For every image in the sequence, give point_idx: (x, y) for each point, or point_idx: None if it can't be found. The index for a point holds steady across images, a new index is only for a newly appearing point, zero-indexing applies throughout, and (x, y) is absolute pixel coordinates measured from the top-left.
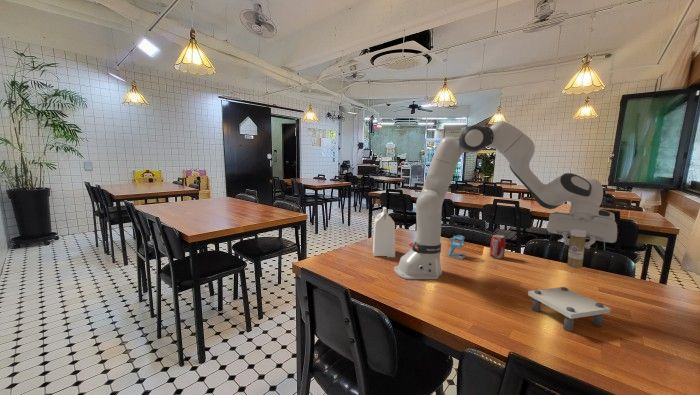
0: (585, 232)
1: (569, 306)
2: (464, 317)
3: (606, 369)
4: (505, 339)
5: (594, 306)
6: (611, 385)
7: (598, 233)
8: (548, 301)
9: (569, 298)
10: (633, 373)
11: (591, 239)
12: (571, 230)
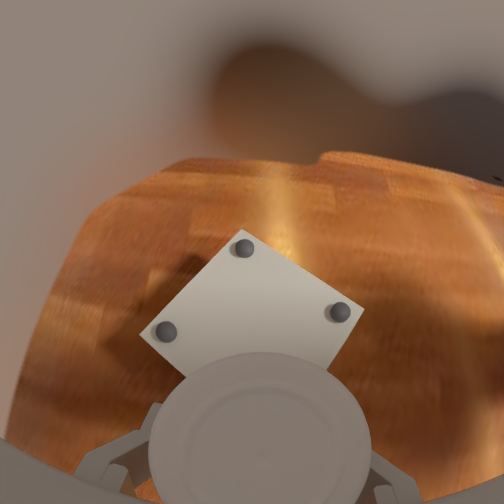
0: (165, 403)
1: (247, 273)
2: (410, 203)
3: (190, 186)
4: (333, 177)
5: (180, 320)
6: (191, 159)
7: (26, 474)
8: (301, 269)
9: (249, 336)
10: (154, 198)
11: (120, 453)
12: (361, 412)
